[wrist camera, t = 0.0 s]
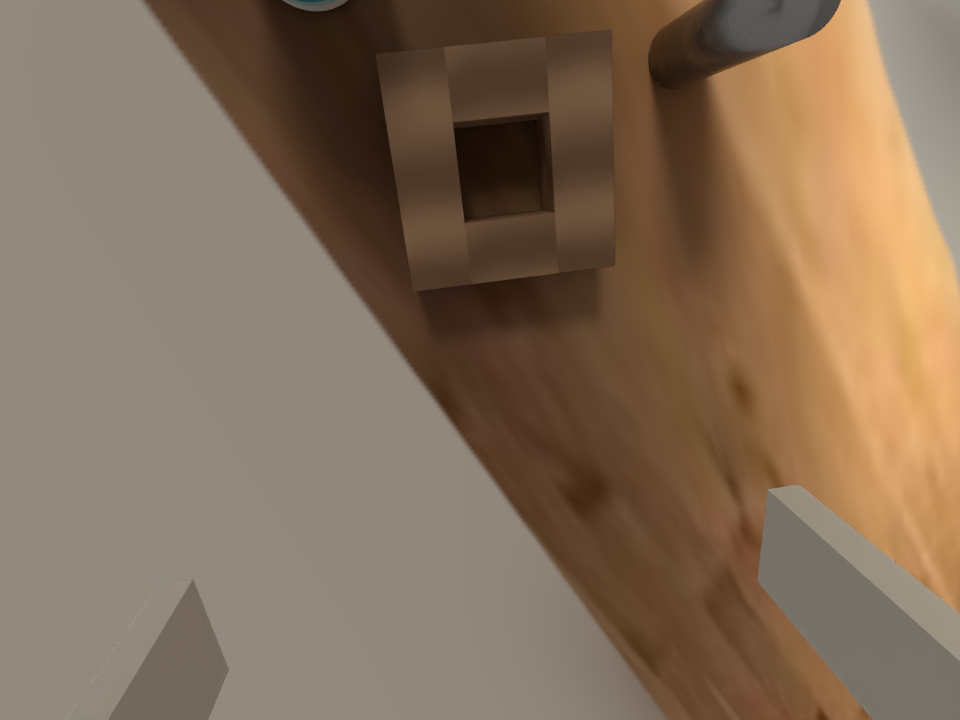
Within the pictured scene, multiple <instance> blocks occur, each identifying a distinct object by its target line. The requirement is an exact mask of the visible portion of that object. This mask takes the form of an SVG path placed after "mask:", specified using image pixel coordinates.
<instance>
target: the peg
mask: <svg viewBox="0 0 960 720" xmlns="http://www.w3.org/2000/svg"><path fill="white" fill-rule="evenodd" d="M840 1H841V0H703V1H701V2H700V3H699V4H697V5H696V6H694V7H693V8H691V9H690V10H688V11H687V12H685V13H684V14H682V15H681V16H680V17H678V18H677V19H675V20H674V21H672V22H671V23H669V24H668V25H666V26H665V27H663V28H662V29H661V30H660V31H659V32H658V33H657V35H656V36H655V38H654V39H653V41H652V44H651V46H650V50H649V58H648V60H649V68H650V71H651V74H652V76H653V77H654V79H655V80H656V81H657V82H658V83H659V84H660V85H662V86H663V87H666V88H670V89H677V88H681V87H684V86H687V85H689V84H692V83H694V82H697V81H699V80H702V79H704V78H707V77H709V76H712V75H714V74H717V73H719V72H722V71H724V70H727V69H729V68H732V67H735V66H737V65H740V64H742V63H745V62H747V61H750V60H752V59H755V58H757V57H760V56H762V55H765V54H767V53H770V52H772V51H775V50H777V49H780V48H782V47H785V46H788V45H790V44H793V43H795V42H798V41H800V40H803V39H805V38H808V37H810V36H812V35H814V34H815V33H817V32H818V31H820V30H821V29H822V28H823V27H824V26H825V25H826V24H827V23H828V22H829V21H830V19H831V18H832V17H833V15H834V14H835V12H836V10H837V8H838V6H839V4H840Z"/></svg>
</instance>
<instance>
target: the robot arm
mask: <svg viewBox="0 0 960 720" xmlns="http://www.w3.org/2000/svg"><path fill="white" fill-rule="evenodd" d="M758 583H759V584H760V585H761V586H762V587H763V589H764V590H765V591H766V592H767V593H768V595H769V596H770V597H771V598H772V599H773V601H774V602H775V603H776V604H777V605H778V607H779V608H780V609H781V610H782V611H783V613H784V614H785V615H786V616H787V617H788V619H789V620H790V621H791V622H792V623H793V625H794V626H795V627H796V628H797V629H798V631H799V632H800V633H801V634H802V635H803V637H804V638H805V639H806V640H807V641H808V643H809V644H810V645H811V646H812V647H813V649H814V650H815V651H816V652H817V653H818V655H819V656H820V657H821V658H822V660H823V661H824V662H825V663H826V664H827V666H828V667H829V668H830V669H831V670H832V672H833V673H834V674H835V675H836V676H837V678H838V679H839V680H840V681H841V682H842V684H843V685H844V686H845V687H846V688H847V690H848V691H849V692H850V693H851V694H852V696H853V697H854V698H855V699H856V700H857V702H858V703H859V704H860V705H861V706H862V708H863V709H864V710H865V711H866V712H867V714H868V715H869V716H870V717H871V718H872V720H960V614H959V613H958V612H957V611H956V610H954V609H953V608H952V607H951V606H949V605H948V604H947V603H946V602H944V601H943V600H942V599H941V598H939V597H938V596H937V595H936V594H934V593H933V592H932V591H931V590H929V589H928V588H927V587H926V586H924V585H923V584H922V583H921V582H920V581H918V580H917V579H916V578H915V577H913V576H912V575H911V574H910V573H908V572H907V571H906V570H905V569H903V568H902V567H901V566H900V565H898V564H897V563H896V562H895V561H893V560H892V559H891V558H890V557H888V556H887V555H886V554H885V553H883V552H882V551H881V550H880V549H878V548H877V547H876V546H875V545H874V544H872V543H871V542H870V541H869V540H867V539H866V538H865V537H864V536H862V535H861V534H860V533H859V532H857V531H856V530H855V529H854V528H852V527H851V526H850V525H849V524H847V523H846V522H845V521H844V520H842V519H841V518H840V517H839V516H837V515H836V514H835V513H834V512H833V511H831V510H830V509H829V508H828V507H826V506H825V505H824V504H823V503H821V502H820V501H819V500H818V499H816V498H815V497H814V496H813V495H811V494H810V493H809V492H808V491H806V490H805V489H804V488H803V487H801V486H800V485H793V486H787V487H780V488H774V489H768V491H767V500H766V510H765V519H764V528H763V537H762V546H761V555H760V564H759V573H758ZM228 670H229V669H228V666H227V664H226V661H225V658H224V656H223V654H222V651H221V648H220V646H219V643H218V641H217V638H216V636H215V634H214V631H213V628H212V626H211V623H210V621H209V618H208V616H207V613H206V611H205V608H204V605H203V603H202V600H201V598H200V595H199V593H198V590H197V588H196V585H195V583H194V580H193V579H190V580H184V581H178V582H171V583H165V584H159V585H157V586H156V587H155V589H154V590H153V591H152V593H151V595H150V596H149V597H148V599H147V600H146V602H145V603H144V605H143V606H142V608H141V609H140V610H139V612H138V614H137V615H136V617H135V618H134V619H133V621H132V622H131V624H130V625H129V627H128V628H127V629H126V631H125V632H124V634H123V635H122V637H121V638H120V640H119V641H118V643H117V644H116V645H115V647H114V648H113V650H112V651H111V653H110V654H109V656H108V657H107V659H106V660H105V661H104V663H103V664H102V666H101V667H100V669H99V670H98V672H97V673H96V675H95V676H94V677H93V679H92V680H91V682H90V683H89V685H88V686H87V688H86V689H85V691H84V692H83V693H82V695H81V696H80V698H79V699H78V701H77V702H76V704H75V705H74V707H73V708H72V710H71V711H70V712H69V714H68V716H67V717H66V718H65V720H208V718H209V716H210V714H211V711H212V709H213V706H214V704H215V702H216V699H217V697H218V694H219V692H220V690H221V687H222V685H223V682H224V680H225V678H226V675H227V673H228Z"/></svg>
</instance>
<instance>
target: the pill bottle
mask: <svg viewBox="0 0 960 720" xmlns="http://www.w3.org/2000/svg"><path fill="white" fill-rule="evenodd" d="M283 1H284V2H286V3H288V4H290V5H292V6H294V7H296V8H300V9H303V10H308V11H326V10H330V9H334V8H336V7H338V6H340V5H342V4H344V3H345V2H347V1H348V0H283Z"/></svg>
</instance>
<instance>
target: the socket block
mask: <svg viewBox="0 0 960 720" xmlns="http://www.w3.org/2000/svg"><path fill="white" fill-rule="evenodd" d="M375 56H376V62H377V69H378V75H379V81H380V88H381V94H382V100H383V106H384V113H385V119H386V125H387V132H388V138H389V144H390V150H391V157H392V163H393V169H394V175H395V182H396V188H397V194H398V201H399V207H400V213H401V219H402V226H403V232H404V238H405V244H406V251H407V257H408V263H409V270H410V276H411V282H412V288H413V292H415V291H423V290H431V289H439V288H446V287H454V286H462V285H470V284H477V283H485V282H493V281H501V280H509V279H516V278H524V277H532V276H540V275H547V274H555V273H563V272H571V271H578V270H586V269H594V268H602V267H610V266H615V225H614V159H613V92H612V30H604V31H594V32H584V33H574V34H564V35H554V36H545V37H535V38H525V39H515V40H505V41H496V42H486V43H476V44H466V45H456V46H446V47H437V48H427V49H417V50H407V51H397V52H388V53H378V54H375ZM533 120H536V126H537V142H538V157H539V173H540V189H541V204H542V210H538V211H530V212H521V213H513V214H505V215H497V216H489V217H480V218H472V219H464V214H463V205H462V197H461V188H460V180H459V171H458V163H457V154H456V146H455V137H454V129H461V128H470V127H479V126H488V125H497V124H506V123H515V122H524V121H533Z"/></svg>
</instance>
